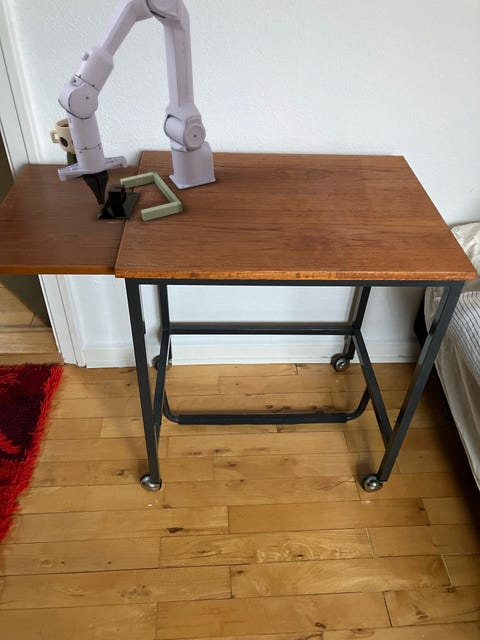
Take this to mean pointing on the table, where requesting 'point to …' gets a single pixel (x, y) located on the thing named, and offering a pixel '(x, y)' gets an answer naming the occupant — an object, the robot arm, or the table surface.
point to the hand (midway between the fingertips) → (101, 202)
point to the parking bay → (166, 208)
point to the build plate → (119, 203)
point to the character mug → (64, 140)
